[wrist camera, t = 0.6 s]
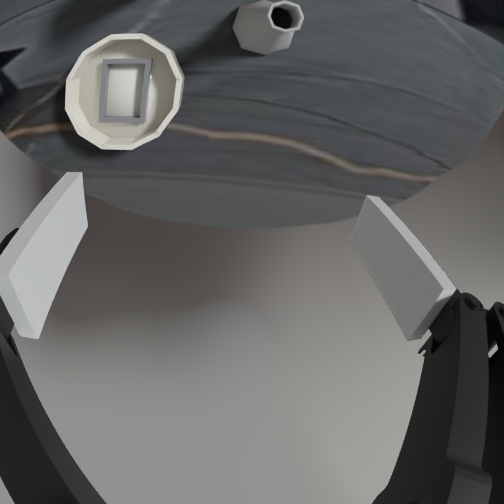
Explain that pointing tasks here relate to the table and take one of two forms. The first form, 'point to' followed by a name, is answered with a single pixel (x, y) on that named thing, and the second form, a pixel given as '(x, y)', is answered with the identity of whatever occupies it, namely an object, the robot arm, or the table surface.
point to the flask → (267, 25)
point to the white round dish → (124, 91)
